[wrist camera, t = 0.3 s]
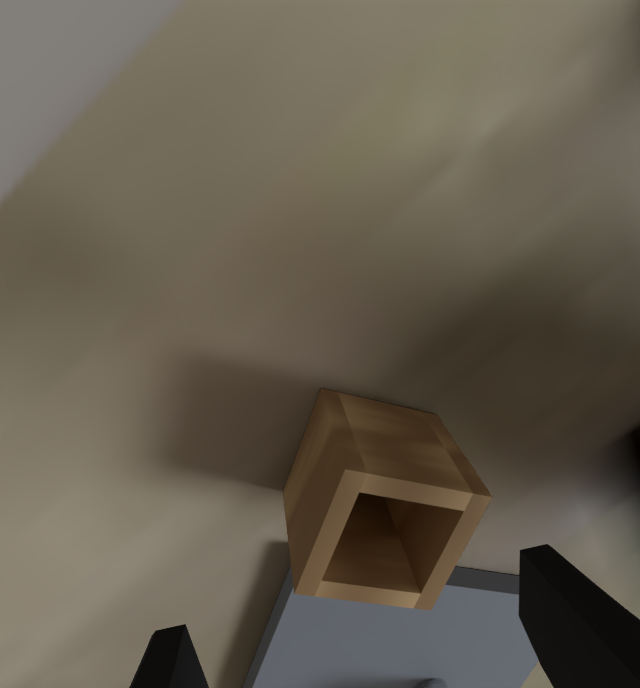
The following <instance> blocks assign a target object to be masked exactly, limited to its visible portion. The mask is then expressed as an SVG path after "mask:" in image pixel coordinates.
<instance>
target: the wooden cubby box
mask: <svg viewBox="0 0 640 688" xmlns="http://www.w3.org/2000/svg"><path fill="white" fill-rule="evenodd" d="M283 499H284V508H285V517H286V525H287V534H288V543H289V552H290V561H291V570H292V578H293V587H294V594H299V595H307V596H315V597H323V598H332V599H340V600H348V601H356V602H364V603H373V604H381V605H389V606H397V607H406V608H414V609H422V610H430V611H431V610H432V608H433V606H434V605H435V603H436V601H437V599H438V597H439V595H440V593H441V592H442V590H443V588H444V586H445V584H446V582H447V580H448V579H449V577H450V575H451V573H452V571H453V569H454V568H455V566H456V564H457V562H458V560H459V558H460V556H461V555H462V553H463V551H464V549H465V547H466V545H467V544H468V542H469V540H470V538H471V536H472V534H473V532H474V531H475V529H476V527H477V525H478V523H479V521H480V519H481V518H482V516H483V514H484V512H485V510H486V508H487V507H488V505H489V503H490V501H491V499H492V496H491V494H490V493H489V491H488V490H487V488H486V487H485V485H484V484H483V482H482V481H481V479H480V478H479V476H478V475H477V473H476V472H475V470H474V469H473V467H472V466H471V465H470V463H469V462H468V460H467V459H466V457H465V456H464V454H463V453H462V451H461V450H460V448H459V447H458V445H457V444H456V442H455V441H454V439H453V438H452V436H451V435H450V433H449V432H448V430H447V429H446V427H445V426H444V424H443V423H442V422H441V420H440V419H439V417H438V416H437V415H435V414H431V413H427V412H422V411H418V410H414V409H409V408H405V407H401V406H396V405H392V404H388V403H383V402H379V401H375V400H370V399H366V398H362V397H357V396H353V395H349V394H344V393H340V392H336V391H331V390H327V389H322V388H321V389H320V392H319V394H318V397H317V400H316V403H315V405H314V408H313V411H312V414H311V416H310V419H309V422H308V424H307V427H306V430H305V433H304V435H303V438H302V441H301V444H300V446H299V449H298V452H297V455H296V457H295V460H294V463H293V466H292V468H291V471H290V474H289V477H288V479H287V482H286V485H285V488H284V490H283Z"/></svg>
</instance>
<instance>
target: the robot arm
mask: <svg viewBox="0 0 640 688" xmlns="http://www.w3.org/2000/svg"><path fill="white" fill-rule="evenodd" d="M519 618H520V620H521V622H522V625H523V627H524V629H525V631H526V634H527V636H528V638H529V640H530V643H531V645H532V647H533V649H534V651H535V653H536V655H537V657H538V660H539V662H540V664H541V666H542V668H543V670H544V671H545V673H546V675H547V677H548V678H549V680H550V682H551V684H552V685H553V687H554V688H640V620H639V619H638V618H637V617H636V616H634V615H633V614H632V613H630V612H629V611H628V610H627V609H625V608H624V607H623V606H622V605H620V604H619V603H618V602H617V601H615V600H614V599H613V598H612V597H610V596H609V595H608V594H607V593H606V592H604V591H603V590H602V589H601V588H600V587H598V586H597V585H596V584H595V583H593V582H592V581H591V580H590V579H589V578H587V577H586V576H585V575H584V574H583V573H581V572H580V571H579V570H578V569H577V568H576V567H574V566H573V565H572V564H571V563H570V562H568V561H567V560H566V559H565V558H564V557H563V556H561V555H560V554H559V553H558V552H557V551H556V550H554V549H553V548H552V547H551V546H549V545H548V544H545V545H541V546H536V547H532V548H527V549H523V550H520V573H519ZM129 688H209V686H208V684H207V681H206V678H205V676H204V673H203V670H202V668H201V665H200V662H199V660H198V657H197V654H196V651H195V649H194V646H193V643H192V641H191V638H190V635H189V633H188V630H187V627H186V625H185V624H184V625H180V626H175V627H171V628H166V629H162V630H157V631H155V632H154V634H153V635H152V637H151V639H150V641H149V644H148V646H147V649H146V651H145V653H144V656H143V658H142V660H141V663H140V665H139V667H138V670H137V672H136V674H135V676H134V679H133V681H132V683H131V685H130V687H129Z"/></svg>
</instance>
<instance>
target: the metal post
mask: <svg viewBox="0 0 640 688" xmlns="http://www.w3.org/2000/svg"><path fill="white" fill-rule="evenodd" d="M414 688H449V686H448V684H447V682H446V681H445V680H443V679H439V678H431V679H426V680H424V681H422V682H420V683H418V684H417V685H416V686H414Z"/></svg>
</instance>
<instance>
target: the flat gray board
mask: <svg viewBox="0 0 640 688" xmlns="http://www.w3.org/2000/svg"><path fill="white" fill-rule="evenodd" d="M537 662H538V657H537V655H536V653H535V651H534V649H533V647H532V645H531V643H530V640H529V638H528V636H527V634H526V631H525V629H524V627H523V625H522V622H521V620H520V618H519V576H516V575H509V574H502V573H495V572H489V571H482V570H475V569H468V568H462V567H455V568H454V569H453V571H452V573H451V575H450V577H449V579H448V580H447V582H446V584H445V586H444V588H443V590H442V592H441V593H440V595H439V597H438V599H437V601H436V603H435V605H434V606H433V608H432V610H431V611H430V610H422V609H414V608H406V607H397V606H389V605H381V604H373V603H364V602H356V601H348V600H340V599H332V598H323V597H315V596H307V595H299V594H294V587H293V578H292V570H291V565H290V568H289V570H288V573H287V575H286V578H285V581H284V583H283V586H282V588H281V591H280V593H279V596H278V598H277V601H276V603H275V606H274V608H273V611H272V613H271V616H270V619H269V621H268V624H267V626H266V629H265V631H264V634H263V636H262V639H261V641H260V644H259V646H258V649H257V651H256V654H255V656H254V659H253V662H252V664H251V667H250V669H249V672H248V674H247V677H246V679H245V682H244V684H243V687H242V688H414V686H416V685H417V684H418V683H420V682H422V681H424V680H426V679H431V678H439V679H443V680H445V681H446V682H447V684H448V686H449V688H520V687H521V686H522V684H523V683H524V681H525V680H526V678H527V677H528V675H529V674H530V672H531V671H532V669H533V668H534V666H535V665H536V663H537Z"/></svg>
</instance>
